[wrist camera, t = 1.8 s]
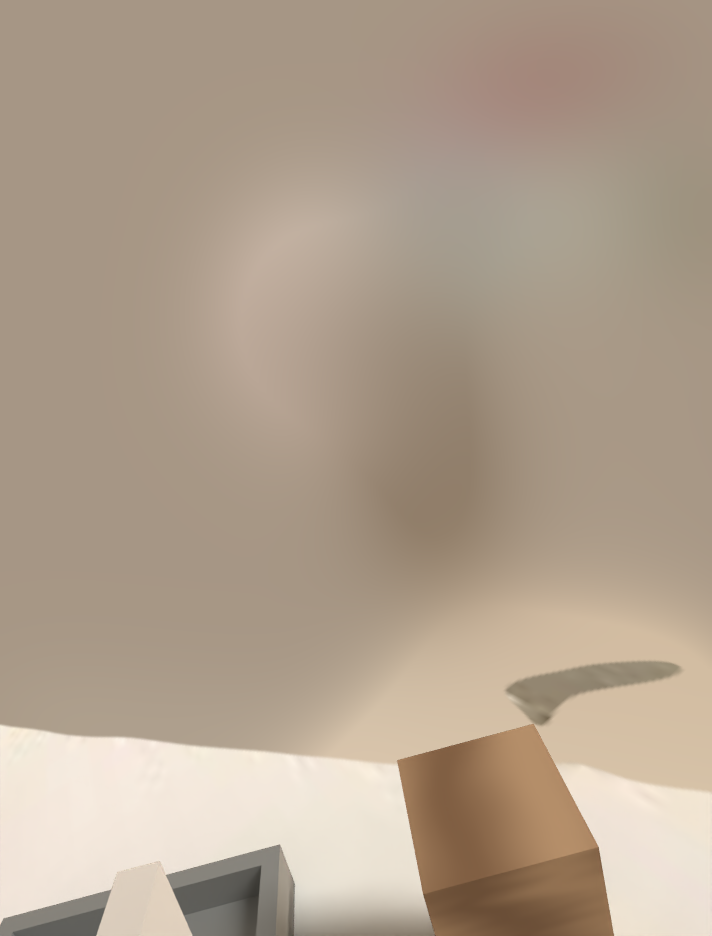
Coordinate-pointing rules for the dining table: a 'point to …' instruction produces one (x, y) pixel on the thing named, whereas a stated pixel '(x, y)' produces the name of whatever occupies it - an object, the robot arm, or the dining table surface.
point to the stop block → (502, 841)
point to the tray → (192, 901)
